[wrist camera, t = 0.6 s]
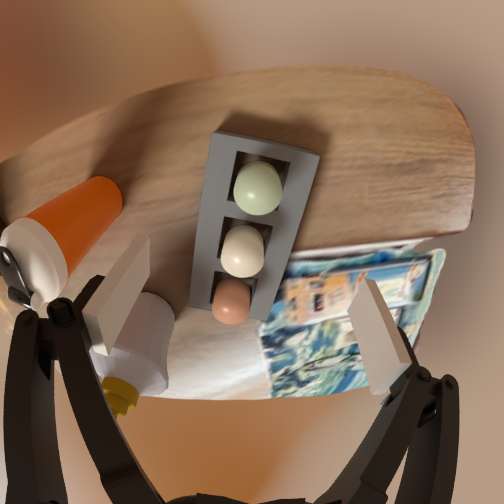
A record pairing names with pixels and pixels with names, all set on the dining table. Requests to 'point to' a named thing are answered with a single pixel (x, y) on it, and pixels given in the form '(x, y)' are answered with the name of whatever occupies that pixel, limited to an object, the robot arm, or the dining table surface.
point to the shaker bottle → (55, 240)
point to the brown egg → (231, 301)
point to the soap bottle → (137, 355)
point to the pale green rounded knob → (258, 188)
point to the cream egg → (243, 251)
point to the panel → (248, 217)
